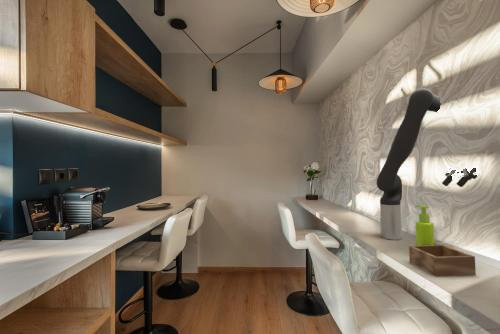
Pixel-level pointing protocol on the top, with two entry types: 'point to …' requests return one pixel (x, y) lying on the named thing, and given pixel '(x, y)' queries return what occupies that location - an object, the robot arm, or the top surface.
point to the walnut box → (442, 260)
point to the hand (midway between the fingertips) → (451, 185)
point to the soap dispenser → (424, 228)
